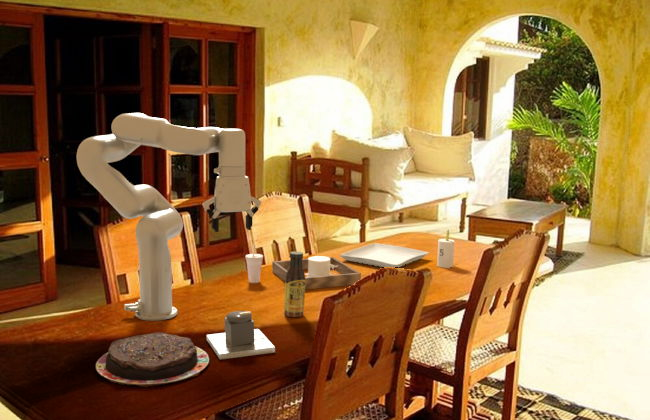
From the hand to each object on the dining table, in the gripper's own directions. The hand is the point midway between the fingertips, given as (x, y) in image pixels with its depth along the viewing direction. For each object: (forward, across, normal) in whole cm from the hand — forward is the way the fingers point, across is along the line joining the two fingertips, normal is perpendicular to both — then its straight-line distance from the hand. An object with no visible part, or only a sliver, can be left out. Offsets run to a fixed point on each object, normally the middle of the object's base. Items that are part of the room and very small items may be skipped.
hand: (232, 230), depth 206 cm
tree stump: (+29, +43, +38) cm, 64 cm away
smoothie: (+28, +19, +41) cm, 53 cm away
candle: (+28, +98, +39) cm, 109 cm away
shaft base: (+28, -3, -19) cm, 34 cm away
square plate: (+29, +79, +55) cm, 101 cm away
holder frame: (+28, +42, +39) cm, 64 cm away
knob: (+27, -3, -19) cm, 33 cm away
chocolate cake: (+29, -27, -24) cm, 46 cm away
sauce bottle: (+28, +20, +1) cm, 35 cm away
